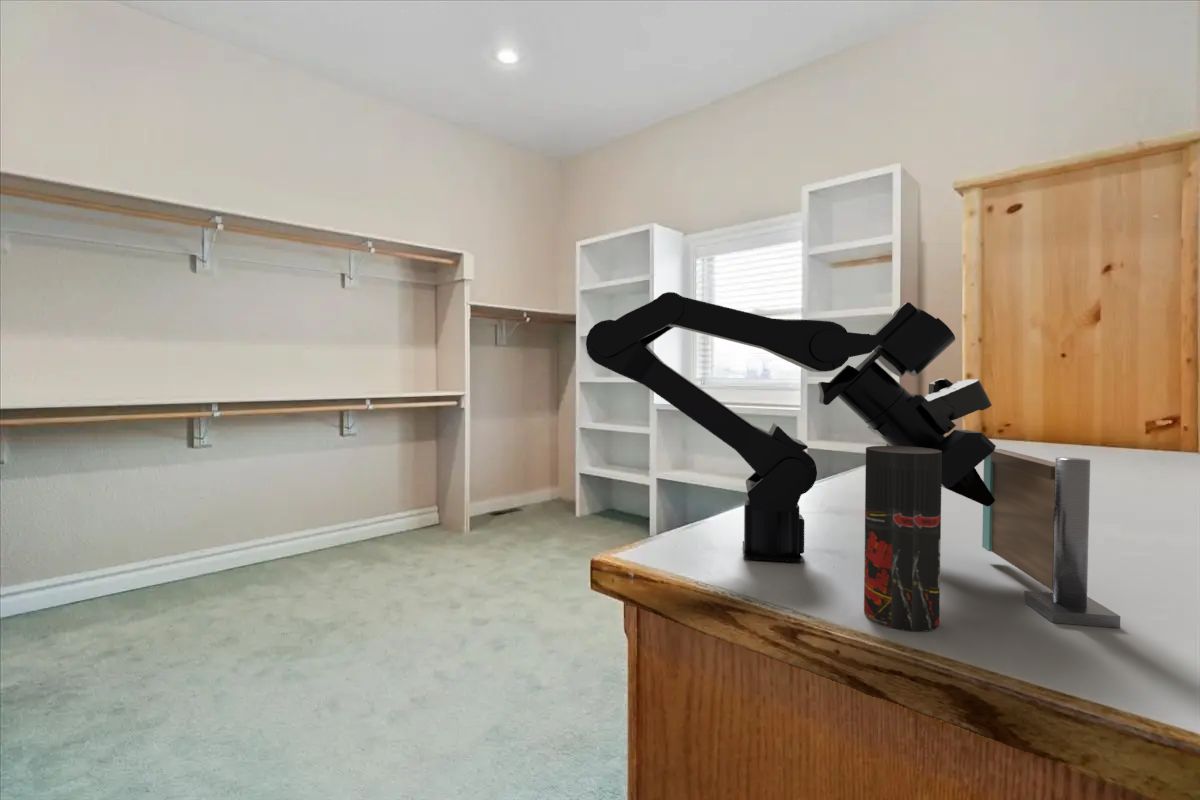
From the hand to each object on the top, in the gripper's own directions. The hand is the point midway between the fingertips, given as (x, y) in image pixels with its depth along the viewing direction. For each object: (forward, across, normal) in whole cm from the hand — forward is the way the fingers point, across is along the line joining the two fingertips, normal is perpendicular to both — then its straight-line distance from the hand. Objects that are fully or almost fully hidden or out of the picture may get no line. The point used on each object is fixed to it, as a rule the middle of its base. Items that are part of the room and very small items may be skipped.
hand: (990, 503), depth 65 cm
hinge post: (+6, -13, +4) cm, 15 cm away
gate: (+5, -4, +3) cm, 7 cm away
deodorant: (-4, -17, +15) cm, 23 cm away
